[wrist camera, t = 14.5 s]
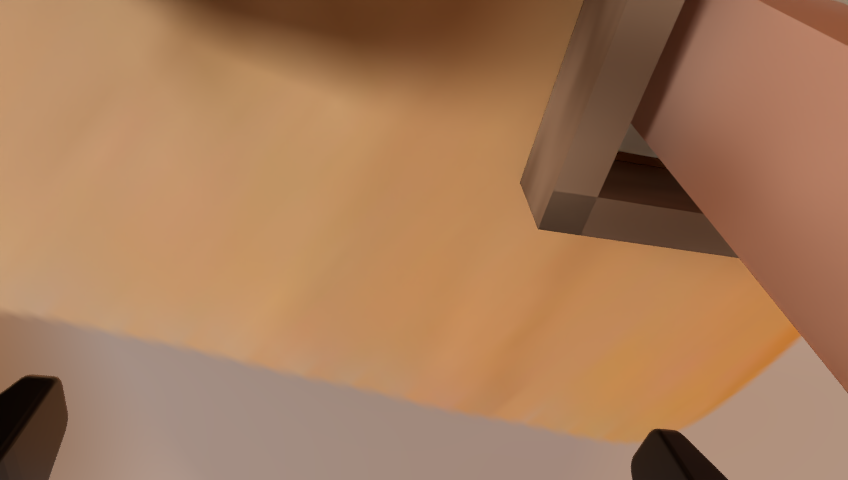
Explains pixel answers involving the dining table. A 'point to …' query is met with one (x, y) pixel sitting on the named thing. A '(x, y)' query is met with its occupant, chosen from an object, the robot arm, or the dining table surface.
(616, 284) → the dining table surface
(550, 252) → the dining table surface
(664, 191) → the corner bracket
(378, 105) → the dining table surface
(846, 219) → the terracotta block
